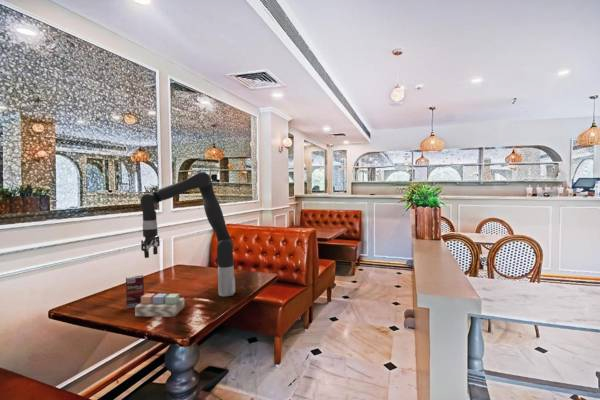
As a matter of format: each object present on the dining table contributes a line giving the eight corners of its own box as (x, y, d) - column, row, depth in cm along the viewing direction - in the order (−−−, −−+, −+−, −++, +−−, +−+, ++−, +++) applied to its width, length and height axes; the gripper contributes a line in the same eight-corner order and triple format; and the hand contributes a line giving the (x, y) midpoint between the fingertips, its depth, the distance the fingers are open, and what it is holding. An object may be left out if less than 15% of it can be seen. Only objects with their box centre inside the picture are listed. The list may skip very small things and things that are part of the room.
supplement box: (126, 308, 161) (125, 279, 160) (126, 305, 165) (125, 277, 164) (144, 305, 165) (143, 277, 164) (144, 302, 169) (143, 274, 168)
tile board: (184, 306, 162) (184, 297, 162) (173, 316, 150) (173, 306, 150) (148, 306, 163) (148, 297, 163) (135, 316, 151) (135, 306, 151)
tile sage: (179, 301, 159) (179, 293, 158) (175, 305, 154) (174, 297, 153) (170, 301, 159) (170, 293, 159) (165, 304, 154) (165, 297, 154)
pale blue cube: (167, 301, 159) (167, 293, 159) (162, 304, 154) (162, 297, 154) (158, 301, 159) (158, 293, 159) (153, 304, 154) (152, 297, 154)
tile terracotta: (155, 301, 159) (155, 293, 159) (150, 304, 154) (150, 297, 154) (146, 300, 160) (146, 293, 159) (141, 304, 155) (140, 297, 154)
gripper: (149, 229, 164) (150, 259, 165) (163, 226, 179) (164, 253, 179) (136, 229, 165) (137, 259, 166) (151, 226, 179) (152, 253, 180)
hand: (151, 256), depth 173 cm, fingers open, 8 cm apart
